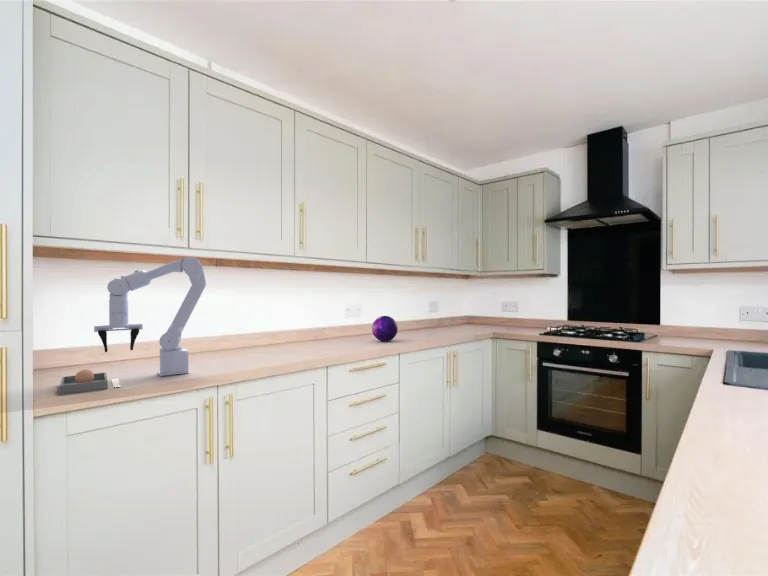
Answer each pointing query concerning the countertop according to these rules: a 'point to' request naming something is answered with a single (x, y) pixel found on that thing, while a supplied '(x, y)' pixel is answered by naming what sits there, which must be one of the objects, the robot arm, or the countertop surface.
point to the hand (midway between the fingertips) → (119, 350)
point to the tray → (83, 384)
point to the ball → (84, 376)
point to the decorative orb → (384, 328)
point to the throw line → (115, 383)
